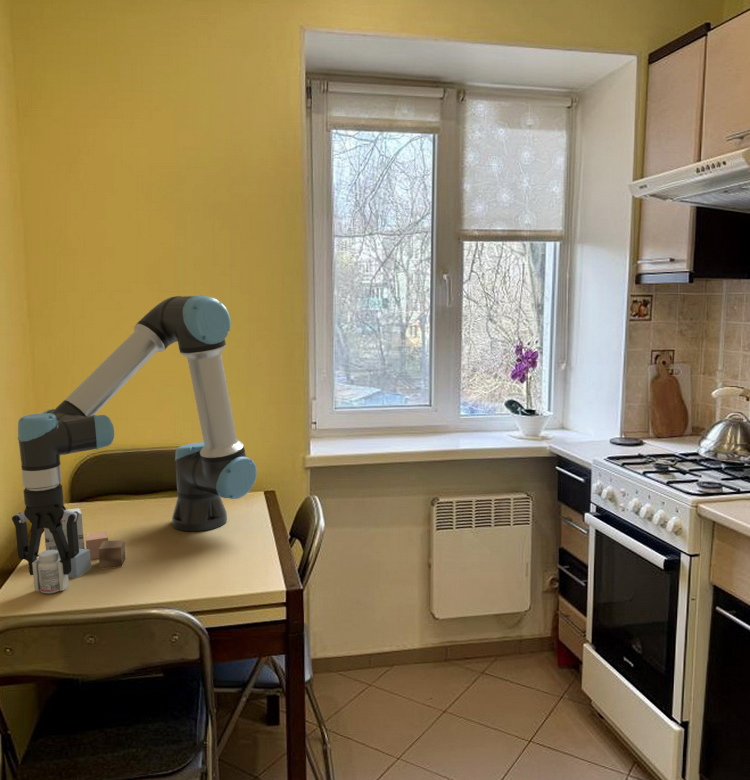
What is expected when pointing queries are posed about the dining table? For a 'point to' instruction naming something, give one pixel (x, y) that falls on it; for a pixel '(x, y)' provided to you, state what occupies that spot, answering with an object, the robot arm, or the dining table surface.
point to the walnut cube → (112, 554)
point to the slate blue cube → (80, 563)
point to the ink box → (49, 537)
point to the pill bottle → (49, 571)
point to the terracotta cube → (95, 543)
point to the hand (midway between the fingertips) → (52, 587)
